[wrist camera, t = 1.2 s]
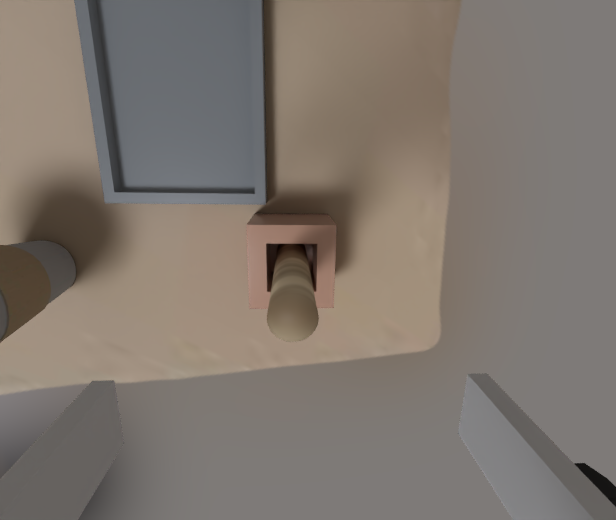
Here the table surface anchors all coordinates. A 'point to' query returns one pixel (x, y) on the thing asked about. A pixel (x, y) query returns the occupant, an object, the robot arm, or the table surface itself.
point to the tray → (177, 99)
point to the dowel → (292, 295)
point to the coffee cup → (31, 280)
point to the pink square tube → (291, 230)
